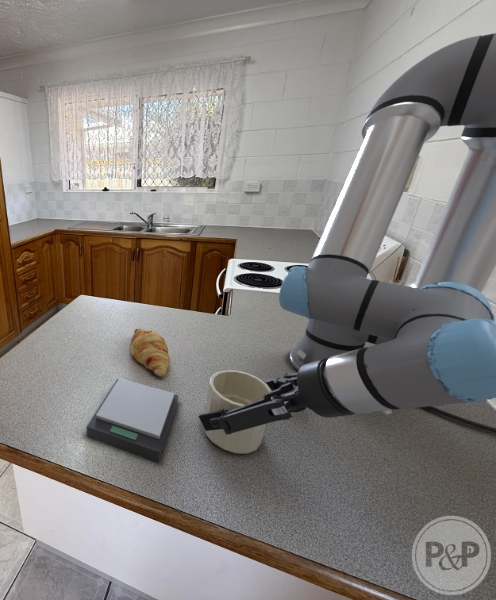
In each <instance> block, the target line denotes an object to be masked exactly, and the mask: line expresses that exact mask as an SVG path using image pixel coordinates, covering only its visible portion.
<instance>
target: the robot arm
mask: <svg viewBox="0 0 496 600" xmlns="http://www.w3.org/2000/svg"><path fill="white" fill-rule="evenodd" d="M457 126H460V127H461V126H463V127H464V128H463V131H462V133H461V135H460V136H459V137H460V140H461V141H462V142H463V143H464V144H465V145H466V146H467V148H468V151H467V155H466V157H465V159H464V161H463V164H462V165H461V168H460V171H459V173H458V176H457V178H456V181H455V183H454V186H453V188H452V190H451V193H450V196H449V198H448V200H447V203H446V205H445V207H444V210H443V212H442V215H441V217H440V220H439V222H438V225H437V227H436V230H435V232H434V234H433V237H432V239H431V242H430V244H429V246H428V249H427V251H426V254H425V256H424V259H423V261H422V263H421V266H420V269H419V271H418V272H417V276H416V278H415V280H414V281H412V282H409V283H407V284H404V285H402V284H398V283H392V282H386V281H381V280H377V279H371V278H368V275H369V274H370V272H371V269H372V267H373V265H374V262H375V260H376V258H377V255H378V253H379V252H380V251H379V250H380V249H381V246H382V244H383V241H384V239H385V236H386V235H387V231H388V229H389V227H390V225H391V222H392V220H393V217H394V215H395V213H396V211H397V208H398V205H399V203H400V201H401V199H402V196H403V194H404V191H405V189H406V187H407V186H408V185H407V184H408V183H409V180H410V178H411V175H412V173H413V170H414V168H415V165H416V163H417V161H418V158H419V156H420V154H421V151H422V149H423V147H424V144H425V143H426V142H428V141H429V140H430V139H432V138H433V137H434V136H435V135H436V134H437V133H438V131H439V130H440V127H457ZM361 136H362V139H363V143H362V144H361V146H360V149H359V151H358V153H357V155H356V158H355V160H354V162H353V164H352V166H351V169H350V171H349V173H348V175H347V178H346V180H345V182H344V184H343V186H342V189H341V191H340V193H339V196H338V198H337V200H336V202H335V204H334V207H333V209H332V211H331V214H330V216H329V218H328V220H327V222H326V224H325V227H324V229H323V232H322V233H321V236H320V239H319V240H318V242H317V245H316V247H315V249H314V252H313V253H312V257H311V258H310V262H309V264H308V265H307V266H304V265H303V266H299V265H298V266H297V265H296V266H292V267H290V269H289V270H288V271H287V273H286V274H285V275H284V278H283V280H282V282H281V285H280V289H279V294H278V302H279V306H280V307H281V308H282V310H284V311H286V312H289V313H293V314H296V315H298V316H301V317H304V318H307V319H308V321H307V325H306V328H305V332H304V334H303V336H302V337H301V338H300V339H299V341H298V342H297V343H296V344H295V345H294V347H292V349H291V351H290V354H289V359H288V361H289V363H290V365H291V366H292V367H293V368H294V369H295V370H296V372H291V373H285V374H283V377H277V378H275V379H276V380H275V381H276V382H274V381H273V380H272V381H268V382H265V381H264V382H265V383H266V384H267V385H268V386H269V388H270V389H271V390H272V391H271V392H268V393H266V394H264V398H262V399H260V400H257V401H254V402H252V403H249V404H246V405H244V406H241V407H238V408H236V409H233V410H230V411H228V410H224V408H222V409H220V411H216V412H211V413H206V414H205V413H201V414H199V415H198V418H199V420H200V423H201V424H202V427H203V426H204V428H203V430H204V429H205V431H210V430H219V429H223V430H224V432H225V434H226V435H228V434H231V433H235V432H238V431H242V430H246V429H249V428H253V427H256V426H260V425H263V424H266V425H267V424H270V423H275V422H279V421H285V420H286V421H287V420H290V419H291V418H292V417H293V416H292V414H291V413H300V412H302V411H305V410H307V409H308V410H310V411H312V412H313V413H315V414H316V415H318V416H319V417H322V418H326V419H329V418H330V419H331V418H338V417H347V416H353V415H355V414H358V415H359V414H368V413H369V414H370V413H377V412H381V413H382V414H383V415H386V416H387V415H389V416H390V415H391V414H392V413H393V411H395V410H406V409H407V410H408V409H416V408H425V409H428V410H430V411H432V412H434V413H437V414H439V415H442V416H445V417H447V418H450V419H452V420H455V421H457V422H460V423H463V424H466V425H469V426H472V427H475V428H478V429H482V430H485V431H488V432H491V433H495V434H496V427H494V426H490V425H487V424H483V423H480V422H476V421H473V420H471V419H467V418H464V417H461V416H460V415H459V416H458V415H456V414H453V413H450V412H448V411H445V410H442V409H440V408H438V407H436V406H445V405H457V404H464V403H465V404H466V403H481V402H487V401H489V400H492V399H496V321H495V314H494V313H493V309H492V306H491V304H490V302H489V300H488V298H487V297H486V296H485V295H484V294H483V293H482V292H483V290H484V288H485V286H486V284H487V283H488V281H489V279H490V277H491V275H492V273H493V272H494V270H495V268H496V32H494V33H490V34H484V35H481V34H480V35H476V36H469V37H467V38H464V39H460V40H458V41H455V42H452V43H450V44H448V45H446V46H443V47H441V48H439V49H438V50H435V52H432V53H431V54H429V55H427V56H426V57H424V58H423V59H421V60H420V61H418V62H417V63H415V64H414V65H413V66H411V67H410V68H409V69H407V70H406V71H404V73H403V74H402V75H400V76H399V77H398V78H397V79H396V80H394V81H393V82H392V84H390V86H389V87H388V88H387V89H385V91H384V92H383V93H382V94H381V95H380V97H379V98H378V99H377V100H376V101H375V103H374V104H373V106H372V107H371V109H370V110H369V112H368V115H367V117H366V118H365V122H364V123H363V125H362V127H361ZM366 343H369V344H373V345H371V346H366ZM365 346H366V347H365ZM272 396H273V400H271V397H272ZM205 431H204V432H205Z"/></svg>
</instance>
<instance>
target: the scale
mask: <svg viewBox="0 0 496 600" xmlns="http://www.w3.org/2000/svg"><path fill="white" fill-rule="evenodd" d="M178 402H179V394H175V392H172V391H168V390H165V389H161V388H157V387H154V386H150V385H146V384H143V383H138V382H136V381H131V380H127V379H124V378H120V377H119V378H117V379H116V380H115V382H114V384H113V385H112V386H111V388H110V389H109V391H108V393H107V394H106V396H105V397H104V399H103V400H102V402H101V404H100V405H99V407H98V409H97V410H96V411H95V413H94V414H93V416H92V418H91V419H90V421H89V422H88V424H87V425H86V437H88V438H91V439H94V440H96V441H100V442H101V443H104V444H108V445H110V446H113V447H116V448H117V449H118V448H119V449H121V450H124V451H127V452H129V453H132V454H135V455H138V456H141V457H143V458H146V459H148V460H151V461H154V462H156V463H160V459H161V456H162V453H163V449H164V447H165V444H166V440H167V437H168V434H169V431H170V428H171V424H172V423H173V422H172V421H173V419H174V415H175V412H176V409H177V406H178Z"/></svg>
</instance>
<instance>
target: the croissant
mask: <svg viewBox="0 0 496 600" xmlns="http://www.w3.org/2000/svg"><path fill="white" fill-rule="evenodd" d="M129 353H130V354H131V356H132V357H133V358H134V359H135V361H137V362H138V363H139V364H141V365H143V366H144V367H145V368H146V369H147V370H150V371H152V372H153V374H155V375H156V376H158V377H164V376H165V375H167V373H168V370H169V365H170V362H171V361H170V359H171V358H170V354H169V349H168V345H167V342H166V340H165V338H164V337H163V336H162V335H160V334H159V333H157V332H156V331H153V330H145V329H141V328H136V329H134V331H133V335H132V336H131V340H130V345H129Z"/></svg>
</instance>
